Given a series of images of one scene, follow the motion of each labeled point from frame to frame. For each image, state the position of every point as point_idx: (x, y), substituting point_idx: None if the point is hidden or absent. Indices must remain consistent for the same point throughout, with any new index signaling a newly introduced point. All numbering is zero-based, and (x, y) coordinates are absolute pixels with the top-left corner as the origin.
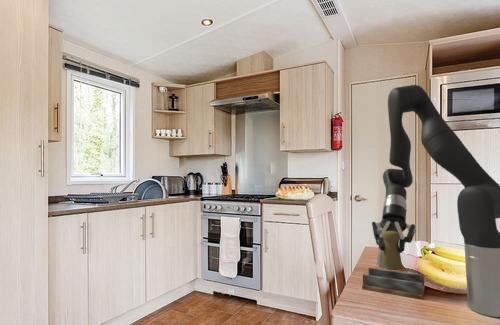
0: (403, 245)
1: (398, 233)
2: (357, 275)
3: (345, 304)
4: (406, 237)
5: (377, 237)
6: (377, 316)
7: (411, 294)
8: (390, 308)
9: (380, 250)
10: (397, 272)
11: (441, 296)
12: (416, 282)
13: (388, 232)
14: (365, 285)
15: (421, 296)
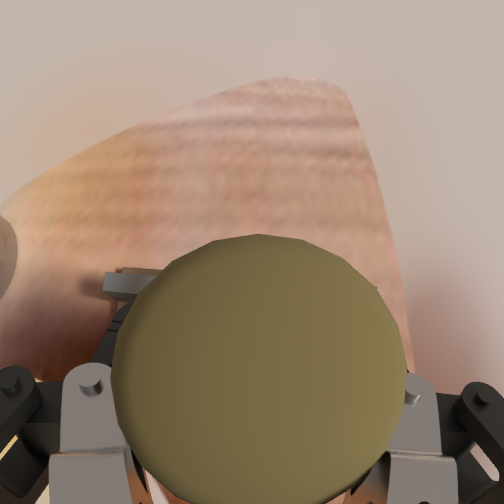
0: (114, 327)
1: (116, 373)
2: None
3: (347, 130)
4: (41, 409)
5: (438, 400)
6: (255, 96)
7: (160, 270)
8: (229, 147)
9: None
10: None
11: (63, 338)
12: (125, 287)
13: (309, 268)
14: None
15: (126, 268)
